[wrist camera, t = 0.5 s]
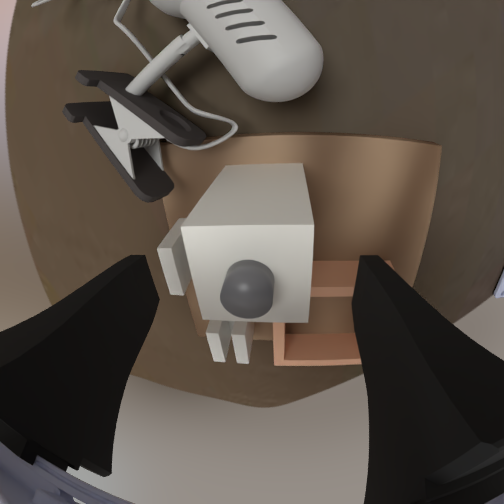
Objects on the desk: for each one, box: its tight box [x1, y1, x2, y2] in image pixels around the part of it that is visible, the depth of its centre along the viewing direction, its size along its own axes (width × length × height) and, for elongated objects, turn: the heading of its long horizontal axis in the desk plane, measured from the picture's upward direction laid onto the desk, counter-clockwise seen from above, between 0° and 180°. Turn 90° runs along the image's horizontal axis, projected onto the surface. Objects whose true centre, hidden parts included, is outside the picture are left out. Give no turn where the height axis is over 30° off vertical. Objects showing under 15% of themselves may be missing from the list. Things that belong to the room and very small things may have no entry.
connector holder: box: [273, 260, 395, 366], centre depth 18 cm, size 7×7×2 cm
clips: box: [157, 218, 254, 364], centre depth 17 cm, size 4×9×3 cm, turn 4°
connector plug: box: [181, 163, 314, 323], centre depth 12 cm, size 4×4×8 cm
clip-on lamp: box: [32, 0, 323, 202], centre depth 9 cm, size 12×6×18 cm
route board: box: [160, 132, 442, 340], centre depth 17 cm, size 16×15×1 cm
